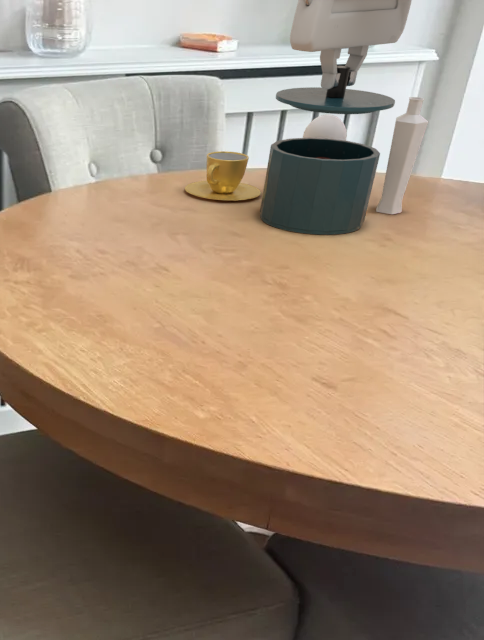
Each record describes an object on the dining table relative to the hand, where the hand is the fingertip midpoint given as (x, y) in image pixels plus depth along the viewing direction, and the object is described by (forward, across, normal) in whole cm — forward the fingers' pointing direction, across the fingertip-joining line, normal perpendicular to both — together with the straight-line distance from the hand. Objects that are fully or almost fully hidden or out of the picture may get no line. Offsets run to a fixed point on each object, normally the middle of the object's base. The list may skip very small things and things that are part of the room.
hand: (337, 86), depth 117 cm
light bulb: (+17, +14, +10) cm, 24 cm away
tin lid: (+2, 0, 0) cm, 2 cm away
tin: (+17, 0, 0) cm, 17 cm away
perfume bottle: (+17, +14, -4) cm, 23 cm away
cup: (+17, +1, +18) cm, 25 cm away
